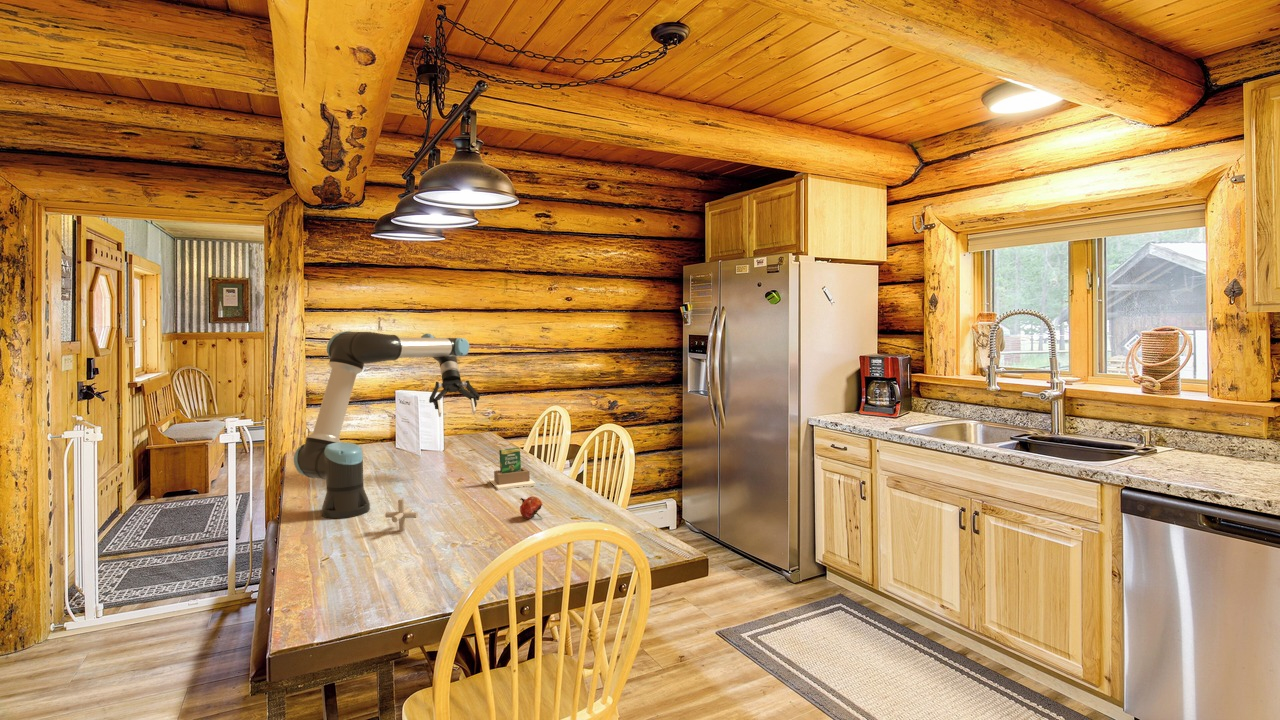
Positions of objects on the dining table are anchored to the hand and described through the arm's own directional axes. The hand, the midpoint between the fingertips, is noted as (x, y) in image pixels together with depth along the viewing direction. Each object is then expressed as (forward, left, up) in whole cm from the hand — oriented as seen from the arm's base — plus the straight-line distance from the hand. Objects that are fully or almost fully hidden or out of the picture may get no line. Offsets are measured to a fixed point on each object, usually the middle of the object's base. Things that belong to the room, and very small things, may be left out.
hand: (457, 413), depth 264 cm
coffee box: (-15, -17, -27) cm, 35 cm away
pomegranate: (-62, -12, -28) cm, 69 cm away
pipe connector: (-55, +28, -28) cm, 68 cm away
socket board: (-15, -18, -28) cm, 36 cm away
